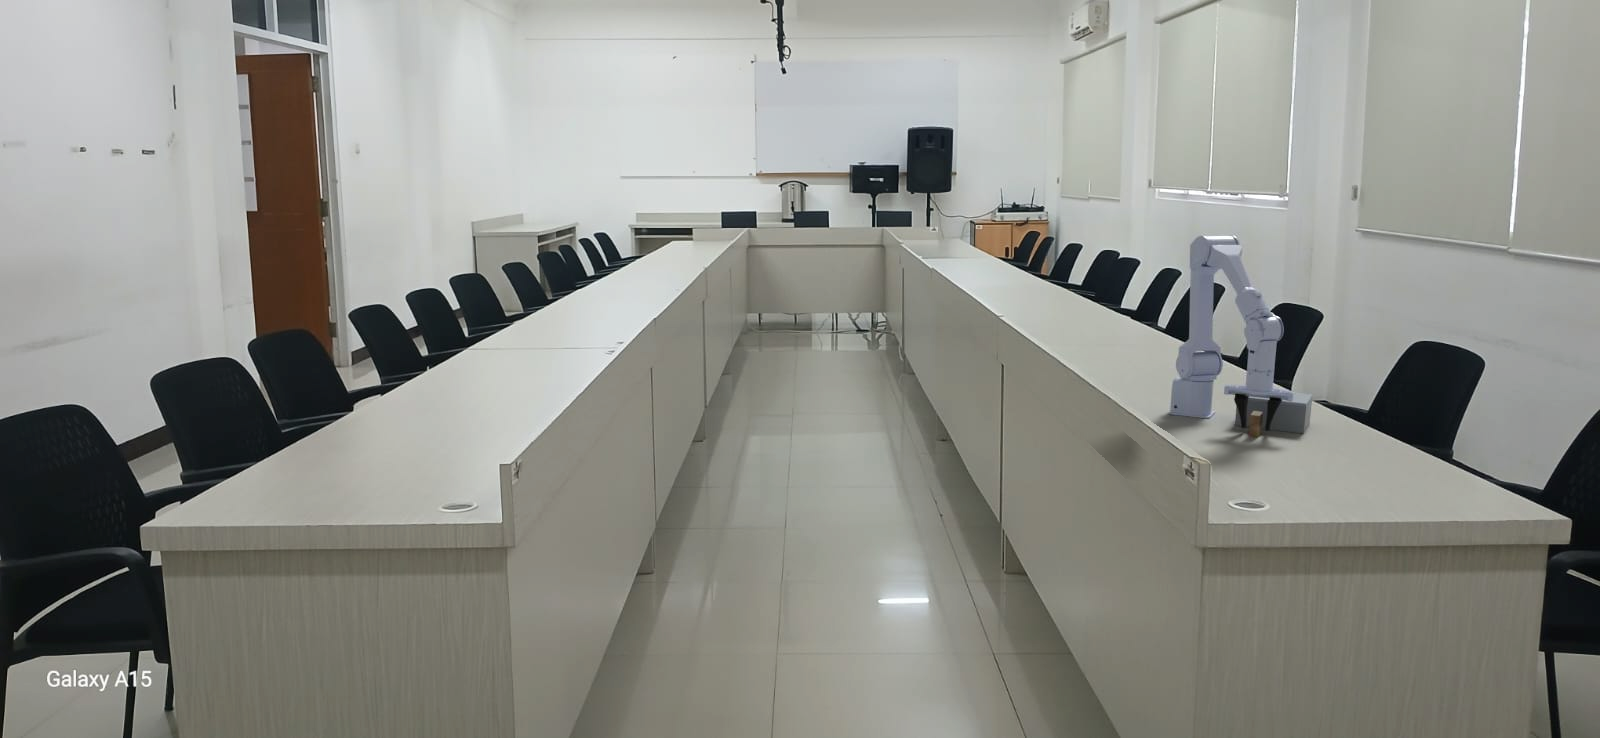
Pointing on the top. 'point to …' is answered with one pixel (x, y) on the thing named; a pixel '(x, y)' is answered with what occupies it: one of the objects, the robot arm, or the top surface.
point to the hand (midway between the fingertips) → (1255, 428)
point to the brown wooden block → (1255, 424)
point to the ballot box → (1282, 413)
